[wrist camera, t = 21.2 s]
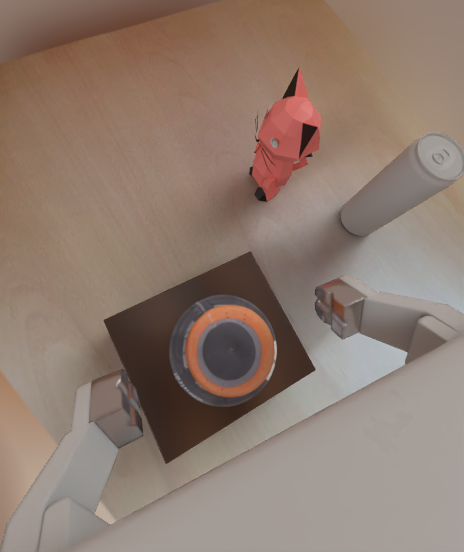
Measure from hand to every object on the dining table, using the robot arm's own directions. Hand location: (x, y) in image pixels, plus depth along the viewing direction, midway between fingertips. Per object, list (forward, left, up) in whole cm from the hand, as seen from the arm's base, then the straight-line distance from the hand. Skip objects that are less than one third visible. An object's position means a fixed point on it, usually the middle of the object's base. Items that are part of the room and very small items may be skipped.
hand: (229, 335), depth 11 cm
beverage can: (+23, +4, -18) cm, 29 cm away
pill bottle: (0, -1, -13) cm, 13 cm away
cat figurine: (+15, +13, -18) cm, 27 cm away
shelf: (0, -1, -17) cm, 17 cm away
